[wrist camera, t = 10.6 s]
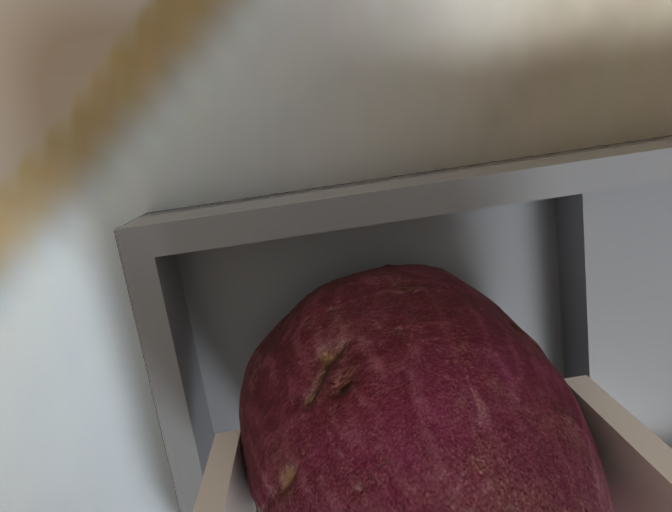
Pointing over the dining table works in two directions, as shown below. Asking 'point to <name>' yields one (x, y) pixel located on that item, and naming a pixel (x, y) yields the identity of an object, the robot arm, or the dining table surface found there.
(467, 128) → the dining table surface
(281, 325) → the vegetable
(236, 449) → the robot arm
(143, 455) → the dining table surface
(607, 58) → the dining table surface
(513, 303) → the grey compartment tray
